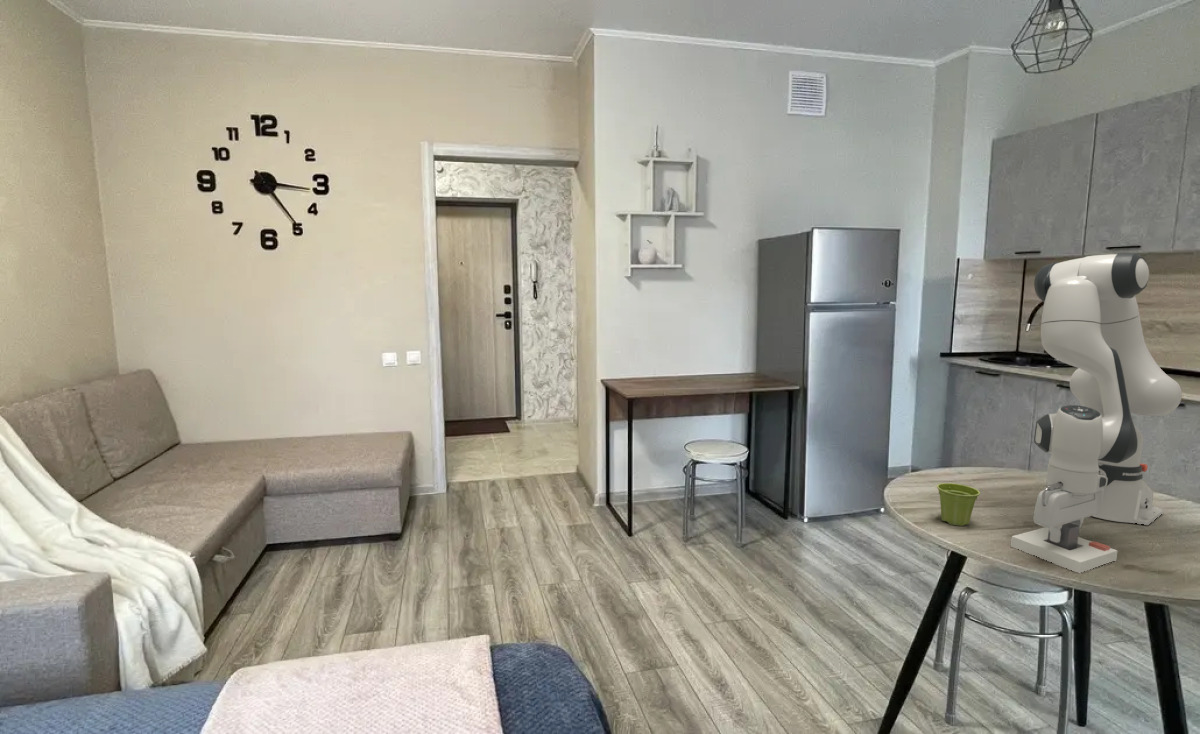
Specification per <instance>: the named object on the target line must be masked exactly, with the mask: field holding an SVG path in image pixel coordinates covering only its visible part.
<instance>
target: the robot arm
mask: <svg viewBox="0 0 1200 734" xmlns="http://www.w3.org/2000/svg"><path fill="white" fill-rule="evenodd" d="M1149 278H1150V269H1149V266H1148V264H1147V260H1146V259H1145V258H1144V257H1143V256H1142V255H1141V254H1138V252H1137V253H1136V252H1118V253H1111V254H1110V253H1109V254H1094V255H1088V256H1084V257H1080V258H1074V259H1070V260H1064V261H1061V262H1059V261H1056V262H1052V263H1049V264H1046V265H1043V266H1042V267H1041V268H1040V269H1038V271H1037V272H1036V274H1035V277H1034V283H1033V285H1034V291H1035V294H1036V296H1037V298H1038V299H1039V300H1040V301H1041V302H1043V307H1042V312H1041V313H1042V314H1041V324H1040V340H1041V346H1042V348H1043V349H1044V350H1045V352H1046V353H1047V354H1048V355H1050V356H1051V357H1052V358H1054V359H1055V360H1057V361H1059V362H1061V363H1063V364H1066V365H1069V366H1072V367H1075V368H1077V369H1076V370H1075V371H1074V372H1073V373H1072V375H1071V377H1070V379H1069V389H1070V392H1071V393H1072V394H1073V396H1075V398H1076V399H1077V400H1078V403H1080V405H1076V404H1069V405H1064V406H1061V407H1059V408H1058V410H1057V411H1056V412H1055V413H1047V414H1045V415H1043V416H1041V417H1040V418H1039V419H1038V420H1036V422H1035V430H1034V438H1033V442H1034V444H1035V445H1036V447H1038V448H1039V449H1040V450H1041V451H1043V452H1045V453H1048V454H1050V458H1049V460H1048V464H1047V470H1046V471H1047V472H1046V480H1045V483H1046V484H1047V485H1046V487H1045V488H1044V489H1043V490H1041V491H1040V492H1039V493H1038V495H1037V498H1036V501H1035V505H1034V506H1035V507H1034V511H1033V522H1034V524H1035V525H1038V526H1041V527H1043V528H1045V527H1047V528H1049V531H1050V540H1051V541H1053V542H1056V543H1058V542H1061V541H1062V538H1063V534H1061V531H1060V529H1061V528H1062V525H1064V524H1067V523H1072V524H1076V525H1079V526H1080V528H1079V530H1080V529H1081V527H1082V525H1083V523H1084V521H1085V520H1084V519H1086V518H1088V517H1089V518H1090V517H1094V518H1097V519H1102V520H1105V521H1112V522H1119V523H1130V524H1135V523H1137V525H1141V524H1144V525H1143V526H1150V525H1151V524H1152V523H1153V522H1155V521H1156V520H1157V519H1158V518H1160V517H1161V516H1162V515H1163V514H1164V510H1163V509H1162V508H1160V507H1157V506H1155V505H1153V500H1154V491H1153V489H1152V488H1151V487H1149V485H1148V484H1147V483H1146V482H1145V481H1144V480H1143V476H1144V475H1143V474H1144V472H1146V471H1147V470H1148V464H1146V463H1141V460H1142V455H1143V454H1142V453H1143V447H1144V436H1143V433H1142V432H1141V430H1140V429H1138V427H1136V425H1135V424H1134V421H1133V417H1132V415H1131V414H1135V415H1139V416H1151V417H1153V416H1155V417H1159V416H1160V417H1161V416H1167V415H1169V414H1170V413H1171V414H1172V412H1174V410H1176V409H1177V408H1178V406H1179V405H1180V403H1181V401H1182V396H1183V395H1182V394H1183V392H1182V389H1181V386H1180V384H1179V383H1178V382H1177V380H1175V379H1173V378H1172V377H1171V376H1169V375H1168V374H1166V373H1165V371H1163V369H1161V367H1160V366H1159V364H1158V363H1157V362H1156V360H1155V359H1154V357H1153V355H1152V354H1151V352H1150V351H1149V349H1148V347H1147V345H1146V341H1145V337H1144V332H1143V327H1142V321H1141V316H1140V310H1139V309H1140V308H1139V305H1138V301H1137V298H1136V295H1139V294H1140V293H1142V292H1143V291H1144V290H1145V288H1146V287H1147V285H1148V283H1149V282H1148V281H1149ZM1162 513H1163V514H1162ZM1161 514H1162V515H1161ZM1160 515H1161V516H1160ZM1159 516H1160V517H1159ZM1157 517H1158V518H1157ZM1156 518H1157V519H1156ZM1155 519H1156V520H1155ZM1154 520H1155V521H1154ZM1151 522H1152V523H1151ZM1150 523H1151V524H1150ZM1149 524H1150V525H1149Z"/></svg>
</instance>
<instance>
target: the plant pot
mask: <svg viewBox="0 0 1200 734" xmlns="http://www.w3.org/2000/svg"><path fill="white" fill-rule="evenodd" d="M936 488H937V489H938V494H939V499H940V500H939V502H940V516H941V517H940V518H941V519H940V520H942V521H943V522H947V523H948V524H949V525H954V526H959V527H960V526H961V527H963V526H966V525H967V526H968V525H969V524H970V521H971V517H972V514H973V510H974V506H975V503H976V501H977V498H978V497H979V496H980V494H981V491H979V489H977V488H974V487H971V486H969V485H965V484H961V483H954V482H944V483H938V484H937V485H936Z"/></svg>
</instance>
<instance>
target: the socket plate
mask: <svg viewBox="0 0 1200 734" xmlns="http://www.w3.org/2000/svg"><path fill="white" fill-rule="evenodd" d="M1048 532H1049V528H1047V527H1042V528H1041V527H1040V528H1038V529H1034V530H1031V531H1030V530H1029V531H1027V532H1023V533H1019V534H1014V535H1012V536H1011V540H1010V547H1011V548H1013V549H1016V550H1018V549H1019V550H1018V551H1021V550H1022V551H1021V552H1023V551H1024V552H1023V553H1026V554H1028V553H1029V555H1031V554H1032V555H1031V556H1033V555H1035V556H1034V557H1036V556H1037V558H1038V557H1040V558H1039V559H1041V558H1042V559H1041V560H1043V559H1044V561H1046V560H1047V562H1048V563H1051V562H1052V563H1051V564H1054V565H1057V566H1059V567H1061V566H1062V568H1063V569H1066V568H1067V569H1066V570H1070V571H1071V570H1072V572H1074V573H1076V572H1078V573H1077V574H1081V572H1082V573H1085V572H1088V571H1091V570H1094V569H1096V568H1095V567H1097V568H1099V567H1098V566H1100V565H1103V564H1106V563H1109V562H1112V561H1115V562H1117V559H1118V558H1117V557H1118V550H1117V549H1114V548H1111V547H1110V546H1111V545H1110V546H1109V545H1107V544H1103V543H1101V542H1098V541H1097V540H1096V541H1095V540H1093V541H1091V540H1088V539H1085V538H1083V537H1079V536H1078V543H1077V548H1076V549H1073V550H1067V549H1065V548H1062V547H1059V546H1056V545H1054V544H1051V543H1048V542H1047V540H1048ZM1112 563H1113V562H1112ZM1109 564H1110V563H1109ZM1106 565H1107V564H1106ZM1103 566H1104V565H1103ZM1100 567H1101V566H1100ZM1093 568H1094V569H1093ZM1090 569H1091V570H1090ZM1087 570H1088V571H1087ZM1084 571H1085V572H1084Z"/></svg>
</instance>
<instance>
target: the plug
mask: <svg viewBox="0 0 1200 734" xmlns="http://www.w3.org/2000/svg"><path fill="white" fill-rule="evenodd" d="M1079 528H1080V529H1081V527H1080V526H1079V525H1076V524H1072V523H1067V524H1064V525H1062V528H1061V529H1060V531H1061V534H1063V538H1062V541H1061V542H1058V543H1056V542H1053V541H1051V540H1050V531H1049V532H1048V540H1047V542H1048V543H1051V544H1054V545H1056V546H1059V547H1062V548H1065V549H1067V550H1073V549H1076V548H1077V543H1078V537H1079V535H1080V529H1079Z"/></svg>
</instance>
